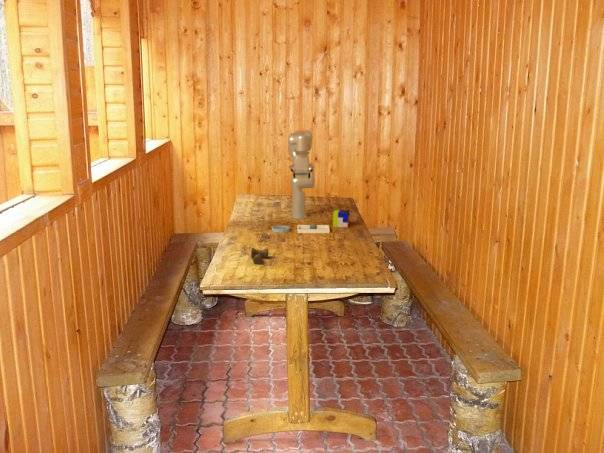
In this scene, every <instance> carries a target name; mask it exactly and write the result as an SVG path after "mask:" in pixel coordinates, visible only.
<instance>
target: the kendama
mask: <svg viewBox="0 0 604 453" xmlns="http://www.w3.org/2000/svg"><path fill="white" fill-rule="evenodd" d="M250 258H251V259H252V262H253V264H255V265H262V264H263V258H265V259H268V258H269V249H268V248H265V249H260V250H258V249H256V248H255V247H252V248H251V250H250Z"/></svg>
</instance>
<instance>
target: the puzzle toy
mask: <svg viewBox="0 0 604 453" xmlns="http://www.w3.org/2000/svg"><path fill="white" fill-rule="evenodd" d="M349 225H350V210H347V209H335V210H334V211H333V213H332V227H335V228H348V227H349Z"/></svg>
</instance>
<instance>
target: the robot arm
mask: <svg viewBox="0 0 604 453" xmlns="http://www.w3.org/2000/svg"><path fill="white" fill-rule="evenodd" d="M287 142H288V143H287V148H288V153H289V156H290V158H291V165H290V166H288V168H289V170H290V171H291V172H292V176H291V178H290V184H291V215H289V217H290V219H293V220H304V219H307V218H308V216H307V214H306V194H305V191H304V190H303V189H312V188H314V187H315V186H316V184H315V183H316V180H315V166H314V165H313V163H312V162H310V156H309V155H310V151H311V150H312V147H313V146H312V145H313V132H311V131H310V130H308V129H307V130H304V129H303V130H299V129H298V130H295V131H293V132H292V133H289V134H288V137H287Z"/></svg>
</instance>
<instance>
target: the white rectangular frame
mask: <svg viewBox="0 0 604 453" xmlns="http://www.w3.org/2000/svg"><path fill="white" fill-rule="evenodd" d="M310 225H311V224H297V234H330V225H329V224H320V225H319V224H316V225H317V229H310Z"/></svg>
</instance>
